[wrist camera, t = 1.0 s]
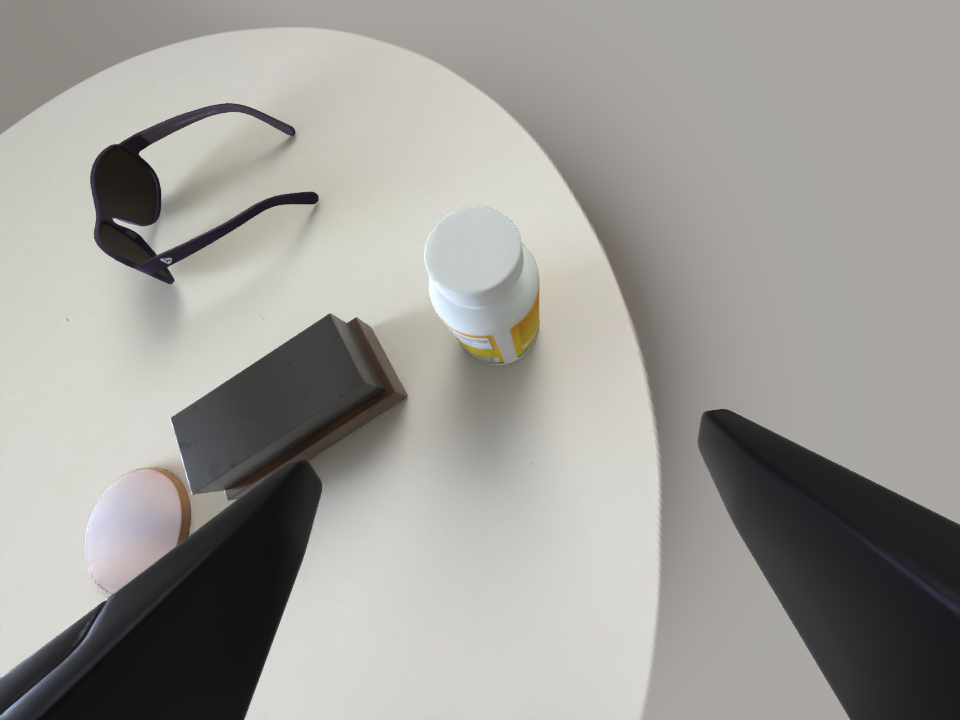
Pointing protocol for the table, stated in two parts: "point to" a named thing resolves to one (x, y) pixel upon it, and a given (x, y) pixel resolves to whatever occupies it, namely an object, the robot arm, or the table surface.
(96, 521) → the cork coaster
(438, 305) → the supplement bottle
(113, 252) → the sunglasses
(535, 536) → the table surface
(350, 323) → the sharpening stone
